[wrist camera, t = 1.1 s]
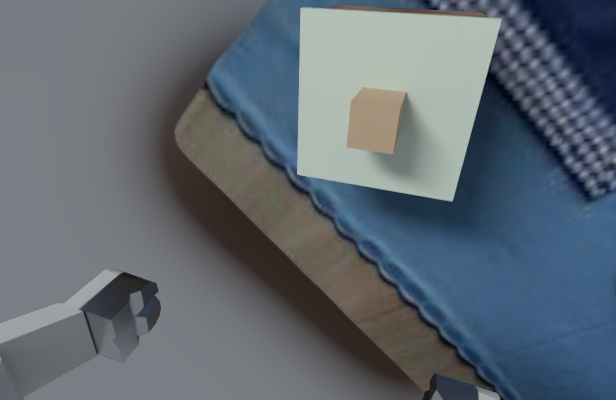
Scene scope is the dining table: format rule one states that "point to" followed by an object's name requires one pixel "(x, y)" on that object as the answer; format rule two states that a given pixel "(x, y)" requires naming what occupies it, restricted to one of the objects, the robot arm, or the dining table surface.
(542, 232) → the dining table surface
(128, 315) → the robot arm
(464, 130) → the lid
